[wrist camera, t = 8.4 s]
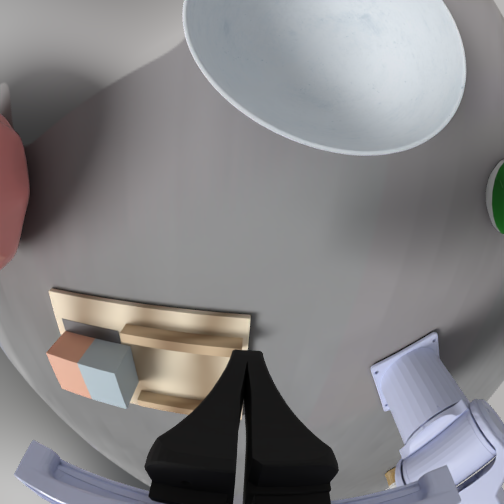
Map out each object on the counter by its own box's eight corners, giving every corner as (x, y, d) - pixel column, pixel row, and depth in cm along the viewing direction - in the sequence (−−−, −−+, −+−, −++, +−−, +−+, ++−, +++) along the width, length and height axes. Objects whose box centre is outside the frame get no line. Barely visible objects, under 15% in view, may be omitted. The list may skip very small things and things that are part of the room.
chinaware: (432, 122, 17) (497, 119, 10) (262, 187, 19) (266, 207, 12) (349, -27, 12) (378, -75, 5) (178, 20, 15) (144, -31, 7)
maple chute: (250, 314, 22) (250, 329, 20) (241, 415, 27) (241, 430, 25) (51, 288, 22) (40, 297, 20) (83, 385, 27) (77, 396, 25)
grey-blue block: (130, 345, 23) (114, 373, 19) (138, 381, 25) (126, 409, 21) (95, 338, 23) (77, 363, 19) (106, 374, 25) (92, 398, 21)
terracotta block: (95, 338, 23) (77, 363, 19) (106, 373, 25) (92, 398, 21) (65, 330, 23) (46, 352, 19) (77, 365, 25) (62, 388, 21)
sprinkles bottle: (382, 472, 35) (397, 525, 23) (404, 462, 34) (421, 514, 22) (386, 476, 36) (400, 526, 24) (406, 467, 36) (422, 516, 23)
